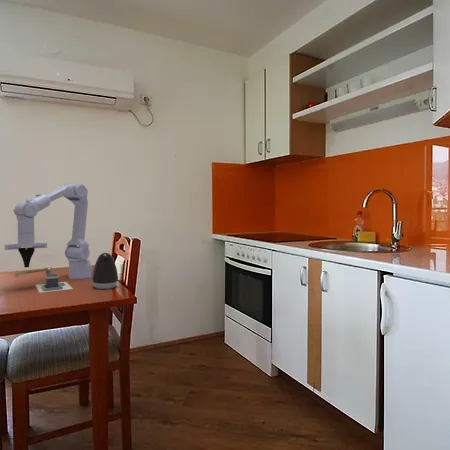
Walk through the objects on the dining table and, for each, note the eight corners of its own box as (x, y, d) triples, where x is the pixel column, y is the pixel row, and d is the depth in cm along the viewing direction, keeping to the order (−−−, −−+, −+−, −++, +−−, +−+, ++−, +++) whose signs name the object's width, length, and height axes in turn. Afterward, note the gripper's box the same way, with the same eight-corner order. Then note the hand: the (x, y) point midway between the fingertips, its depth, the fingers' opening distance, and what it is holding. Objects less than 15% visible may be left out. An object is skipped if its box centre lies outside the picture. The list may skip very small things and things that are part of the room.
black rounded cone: (94, 293, 138) (93, 255, 137) (90, 287, 147) (90, 251, 147) (120, 290, 143) (120, 253, 142) (115, 285, 152) (115, 250, 151)
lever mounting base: (66, 283, 153) (66, 268, 153) (72, 291, 141) (72, 274, 141) (35, 287, 147) (35, 271, 146) (39, 295, 134) (39, 277, 134)
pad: (63, 283, 149) (63, 282, 149) (64, 285, 146) (64, 284, 146) (54, 284, 147) (54, 283, 147) (55, 286, 144) (55, 285, 144)
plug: (57, 286, 144) (57, 273, 144) (59, 289, 140) (59, 275, 140) (44, 288, 141) (44, 274, 141) (46, 290, 138) (46, 276, 137)
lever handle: (53, 272, 149) (53, 267, 149) (17, 277, 137) (17, 273, 137) (50, 271, 150) (49, 267, 150) (14, 276, 138) (14, 272, 138)
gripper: (44, 231, 146) (45, 263, 146) (3, 232, 137) (4, 267, 138) (47, 232, 140) (48, 266, 141) (5, 234, 131) (5, 269, 132)
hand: (26, 267), depth 139 cm, fingers closed
